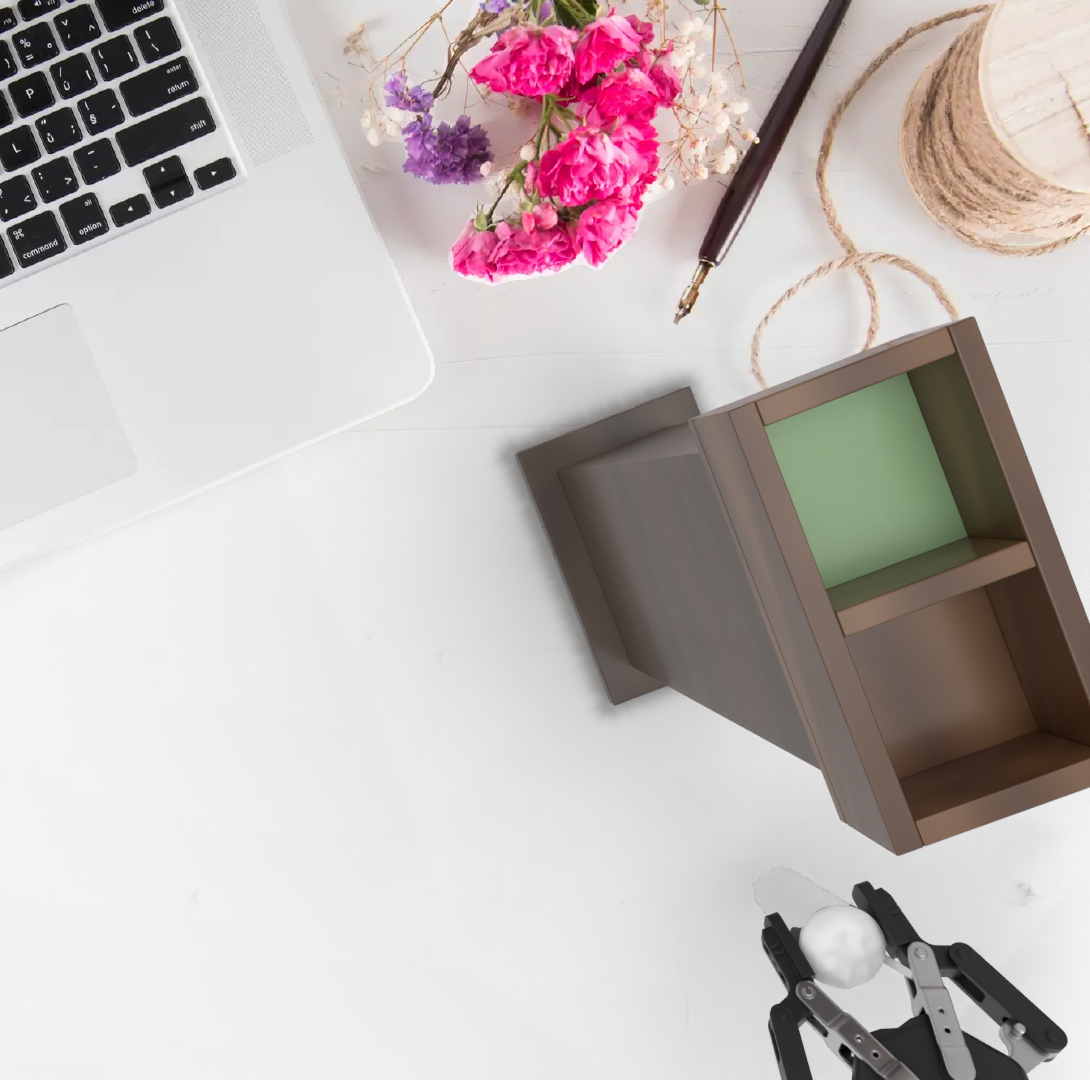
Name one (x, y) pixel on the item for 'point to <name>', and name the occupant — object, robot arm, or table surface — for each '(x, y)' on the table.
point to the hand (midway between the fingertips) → (814, 904)
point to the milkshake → (826, 928)
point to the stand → (659, 568)
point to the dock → (910, 585)
